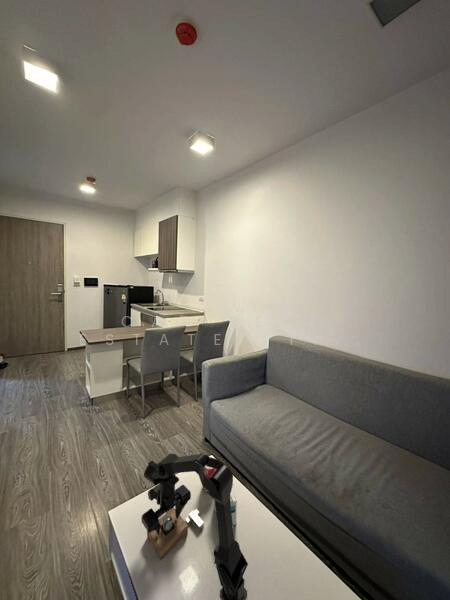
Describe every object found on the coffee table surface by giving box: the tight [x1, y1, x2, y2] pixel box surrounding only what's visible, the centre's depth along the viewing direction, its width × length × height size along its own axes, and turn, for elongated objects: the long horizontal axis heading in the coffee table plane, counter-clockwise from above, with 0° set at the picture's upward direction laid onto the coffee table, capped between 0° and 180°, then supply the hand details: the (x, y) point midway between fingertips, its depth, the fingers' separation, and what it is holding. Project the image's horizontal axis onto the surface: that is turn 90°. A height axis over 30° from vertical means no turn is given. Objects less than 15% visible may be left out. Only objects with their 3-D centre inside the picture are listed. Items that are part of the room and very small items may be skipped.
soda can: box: [201, 466, 217, 493], centre depth 112 cm, size 7×7×12 cm
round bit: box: [163, 515, 172, 536], centre depth 91 cm, size 3×3×7 cm
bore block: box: [146, 506, 189, 561], centre depth 91 cm, size 10×12×4 cm
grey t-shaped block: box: [184, 508, 205, 532], centre depth 96 cm, size 7×6×2 cm
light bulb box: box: [213, 490, 238, 526], centre depth 99 cm, size 11×7×11 cm, turn 22°
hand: (167, 525), depth 91 cm, fingers open, 8 cm apart
